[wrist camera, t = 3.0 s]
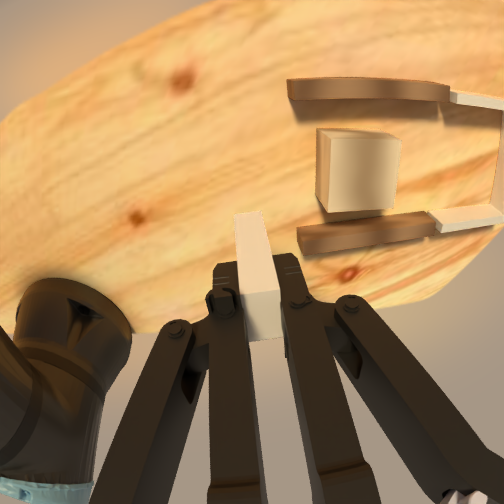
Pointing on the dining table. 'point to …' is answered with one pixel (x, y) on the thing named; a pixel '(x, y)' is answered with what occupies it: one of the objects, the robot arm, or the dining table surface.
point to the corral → (500, 205)
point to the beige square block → (356, 169)
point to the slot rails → (376, 227)
